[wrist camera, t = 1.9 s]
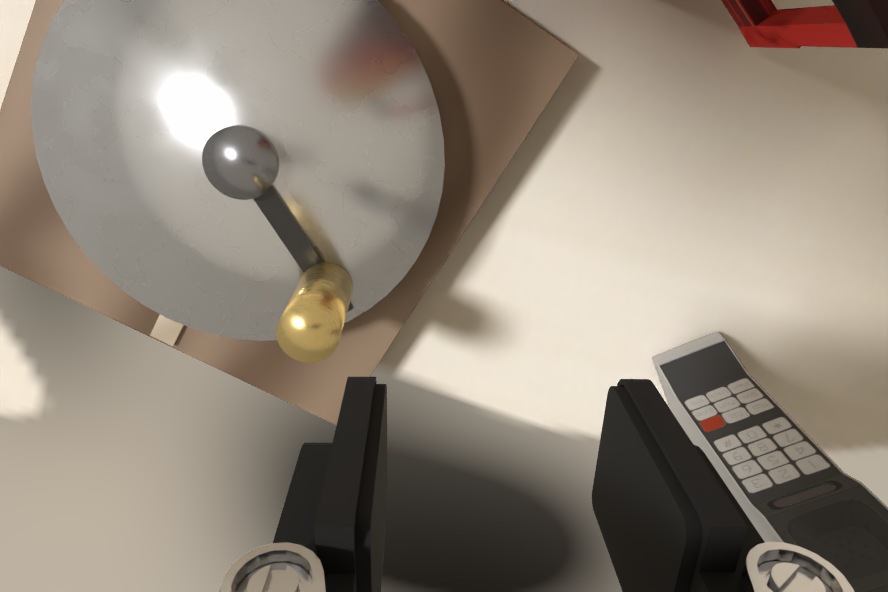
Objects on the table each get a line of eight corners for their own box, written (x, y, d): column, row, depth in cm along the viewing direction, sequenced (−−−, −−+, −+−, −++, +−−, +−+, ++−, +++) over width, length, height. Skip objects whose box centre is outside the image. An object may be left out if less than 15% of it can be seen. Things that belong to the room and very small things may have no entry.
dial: (-37, 72, 25) (-180, 83, 19) (307, -160, 22) (264, -232, 16) (213, 380, 31) (163, 461, 25) (507, 227, 29) (529, 277, 23)
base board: (-22, 235, 30) (-47, 246, 28) (141, -249, 23) (120, -270, 21) (341, 410, 34) (337, 427, 33) (571, 54, 27) (580, 55, 26)
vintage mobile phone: (715, 327, 33) (1387, 1000, 10) (736, 398, 35) (1344, 1102, 12) (649, 353, 33) (1144, 1049, 10) (673, 422, 35) (1138, 1140, 12)
